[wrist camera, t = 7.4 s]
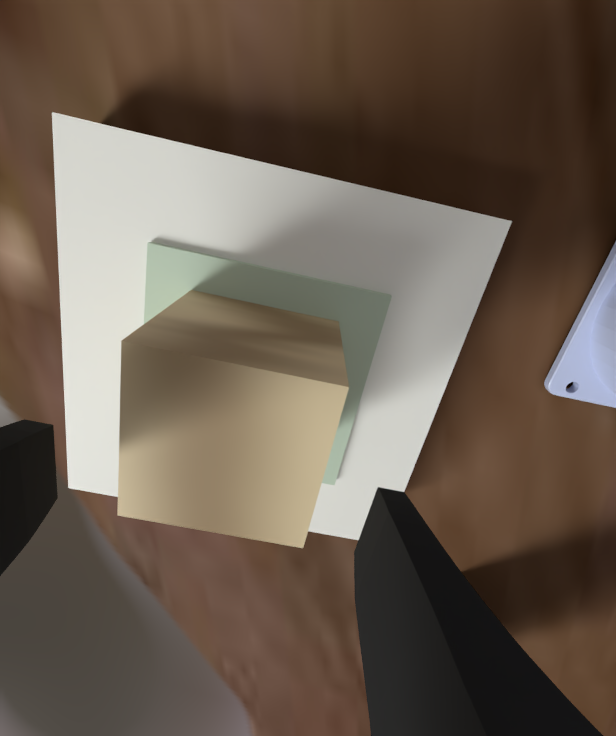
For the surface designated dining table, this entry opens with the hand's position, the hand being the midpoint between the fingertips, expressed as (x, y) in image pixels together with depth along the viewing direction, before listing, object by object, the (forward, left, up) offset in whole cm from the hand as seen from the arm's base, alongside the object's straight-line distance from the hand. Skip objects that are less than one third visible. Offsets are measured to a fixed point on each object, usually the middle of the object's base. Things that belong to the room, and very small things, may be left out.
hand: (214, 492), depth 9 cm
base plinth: (0, 0, -9) cm, 9 cm away
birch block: (0, 0, -6) cm, 6 cm away
